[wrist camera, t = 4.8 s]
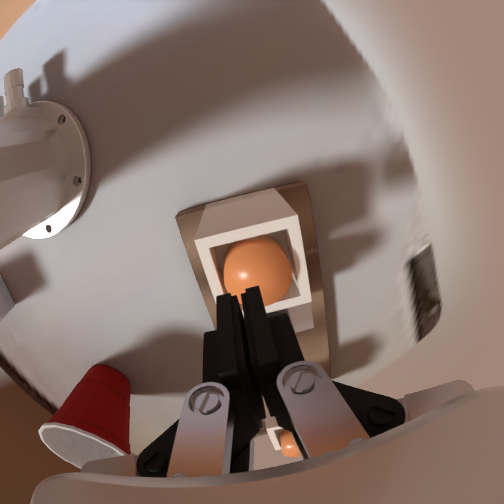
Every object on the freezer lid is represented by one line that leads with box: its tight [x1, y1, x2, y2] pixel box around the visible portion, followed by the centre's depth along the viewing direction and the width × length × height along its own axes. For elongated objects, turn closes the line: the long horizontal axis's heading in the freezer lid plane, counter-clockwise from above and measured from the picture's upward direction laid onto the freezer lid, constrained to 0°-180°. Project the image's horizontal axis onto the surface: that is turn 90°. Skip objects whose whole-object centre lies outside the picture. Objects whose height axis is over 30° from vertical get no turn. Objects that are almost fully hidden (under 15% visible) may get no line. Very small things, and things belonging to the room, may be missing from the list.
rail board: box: [175, 182, 331, 379], centre depth 25 cm, size 24×10×2 cm, turn 13°
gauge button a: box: [224, 234, 292, 306], centre depth 15 cm, size 4×4×2 cm
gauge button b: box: [280, 430, 301, 457], centre depth 22 cm, size 4×4×2 cm
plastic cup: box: [38, 365, 131, 468], centre depth 23 cm, size 11×11×12 cm
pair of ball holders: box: [194, 188, 312, 450], centre depth 22 cm, size 24×5×8 cm, turn 13°
